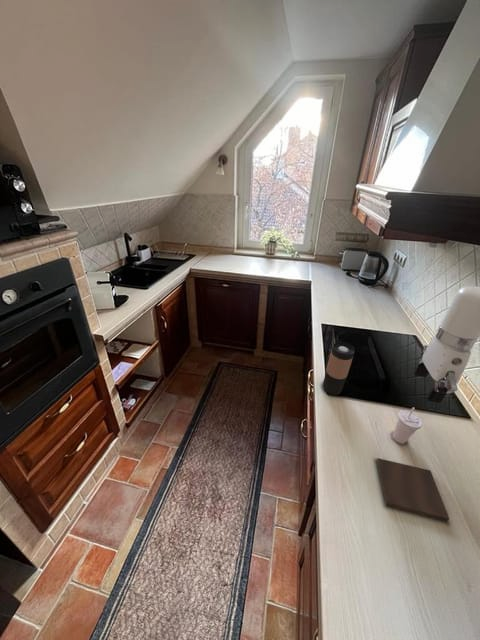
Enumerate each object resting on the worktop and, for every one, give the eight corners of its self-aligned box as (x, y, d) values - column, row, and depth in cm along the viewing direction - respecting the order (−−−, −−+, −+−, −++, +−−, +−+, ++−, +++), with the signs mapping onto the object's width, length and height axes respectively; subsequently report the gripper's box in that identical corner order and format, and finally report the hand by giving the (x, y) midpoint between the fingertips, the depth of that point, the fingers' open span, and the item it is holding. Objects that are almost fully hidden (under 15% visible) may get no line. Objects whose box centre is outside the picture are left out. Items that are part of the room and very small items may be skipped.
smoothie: (390, 426, 86) (404, 397, 79) (411, 436, 83) (429, 407, 75) (386, 440, 81) (402, 410, 74) (409, 451, 78) (427, 422, 71)
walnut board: (428, 473, 73) (430, 470, 72) (446, 521, 63) (449, 518, 62) (375, 460, 75) (377, 457, 75) (385, 505, 65) (387, 502, 65)
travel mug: (317, 384, 102) (327, 344, 91) (332, 379, 104) (344, 339, 94) (330, 398, 96) (343, 356, 85) (346, 392, 98) (360, 351, 88)
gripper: (494, 362, 53) (456, 415, 62) (455, 321, 68) (428, 369, 77) (454, 356, 55) (422, 409, 64) (424, 317, 69) (401, 365, 78)
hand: (426, 387), depth 70 cm, fingers open, 9 cm apart
